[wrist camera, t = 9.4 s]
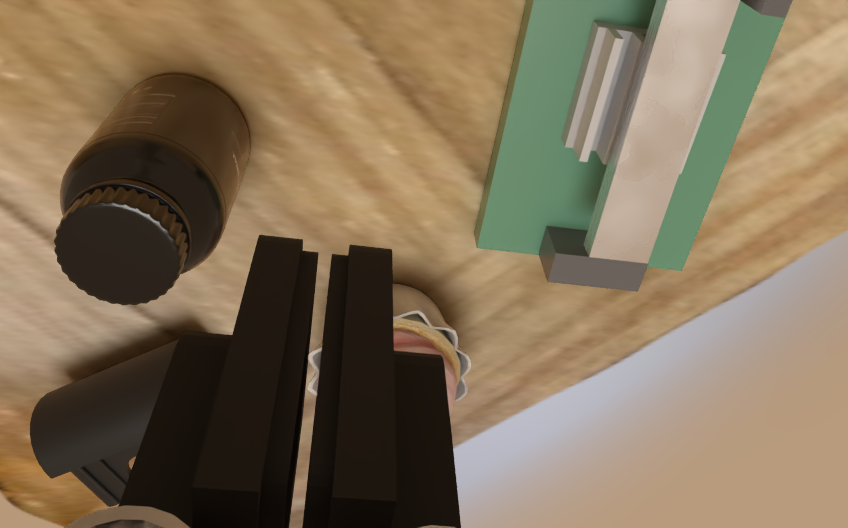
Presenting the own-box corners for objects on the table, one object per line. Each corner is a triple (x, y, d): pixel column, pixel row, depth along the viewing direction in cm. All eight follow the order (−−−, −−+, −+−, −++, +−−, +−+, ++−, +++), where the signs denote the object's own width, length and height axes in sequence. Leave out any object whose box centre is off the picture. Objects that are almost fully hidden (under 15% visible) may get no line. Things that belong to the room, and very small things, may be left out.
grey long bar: (676, -74, 31) (690, -68, 30) (745, -62, 31) (762, -56, 30) (582, 243, 38) (590, 258, 37) (639, 249, 39) (648, 265, 37)
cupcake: (293, 274, 44) (272, 393, 36) (451, 247, 44) (467, 360, 35) (332, 391, 49) (322, 518, 41) (474, 367, 49) (493, 491, 41)
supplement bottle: (277, 162, 40) (242, 293, 30) (168, 210, 42) (100, 351, 32) (205, 45, 37) (138, 150, 27) (88, 102, 38) (-17, 223, 28)
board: (563, -163, 33) (602, -147, 27) (821, -116, 34) (911, -92, 28) (474, 234, 43) (488, 307, 38) (673, 256, 45) (717, 330, 39)
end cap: (191, 307, 45) (164, 384, 40) (254, 386, 49) (238, 467, 43) (55, 364, 47) (11, 446, 42) (125, 436, 51) (93, 520, 45)
